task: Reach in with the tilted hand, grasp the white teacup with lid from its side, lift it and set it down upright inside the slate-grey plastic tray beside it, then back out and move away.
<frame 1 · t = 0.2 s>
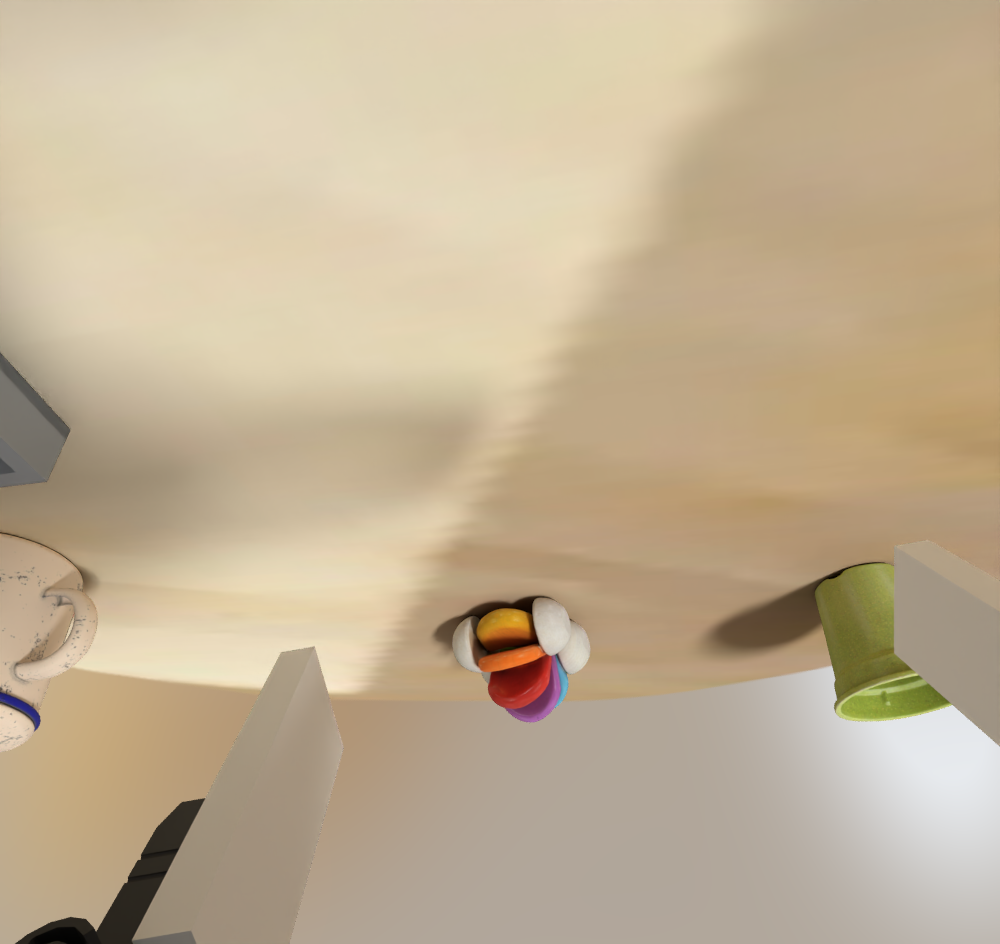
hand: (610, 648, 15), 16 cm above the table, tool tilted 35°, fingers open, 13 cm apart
rainbow segmented toy: (519, 617, 49), on the table
plant pot: (853, 580, 48), on the table
teacup with lid: (25, 560, 38), on the table
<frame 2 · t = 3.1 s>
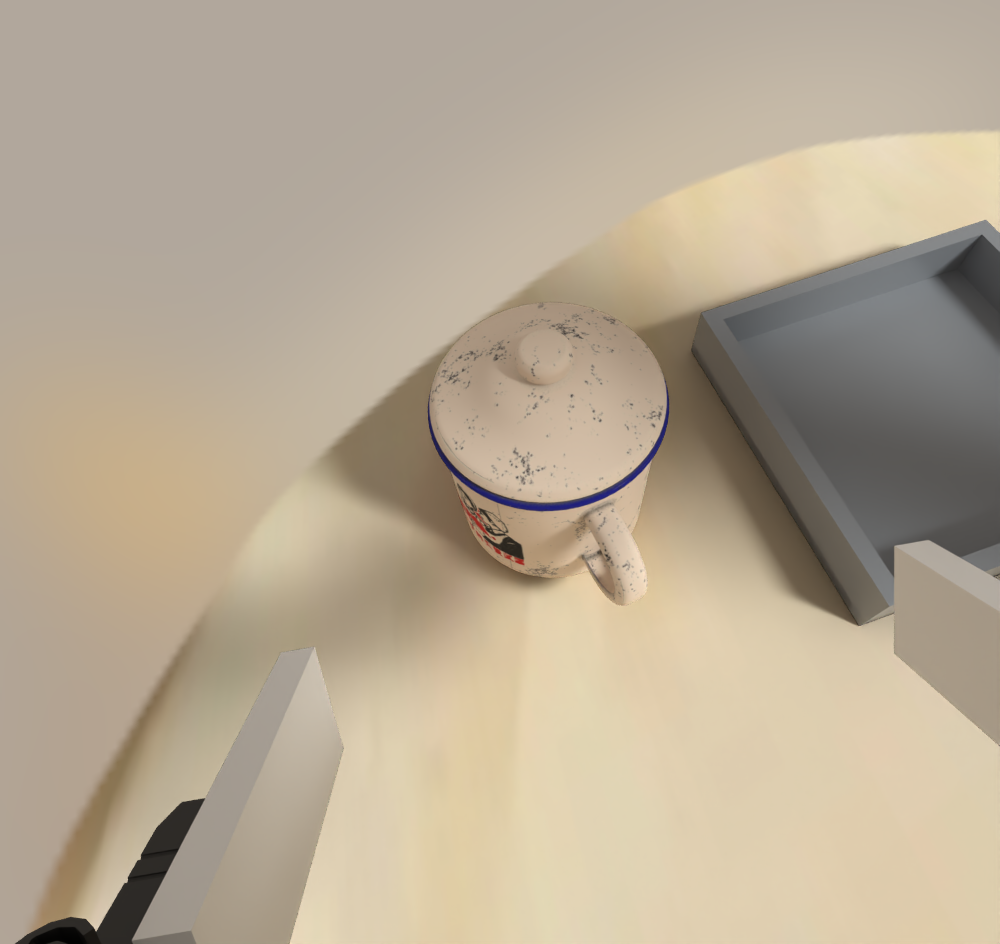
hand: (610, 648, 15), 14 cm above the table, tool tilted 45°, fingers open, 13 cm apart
tray: (913, 420, 32), on the table
teacup with lid: (564, 522, 32), on the table
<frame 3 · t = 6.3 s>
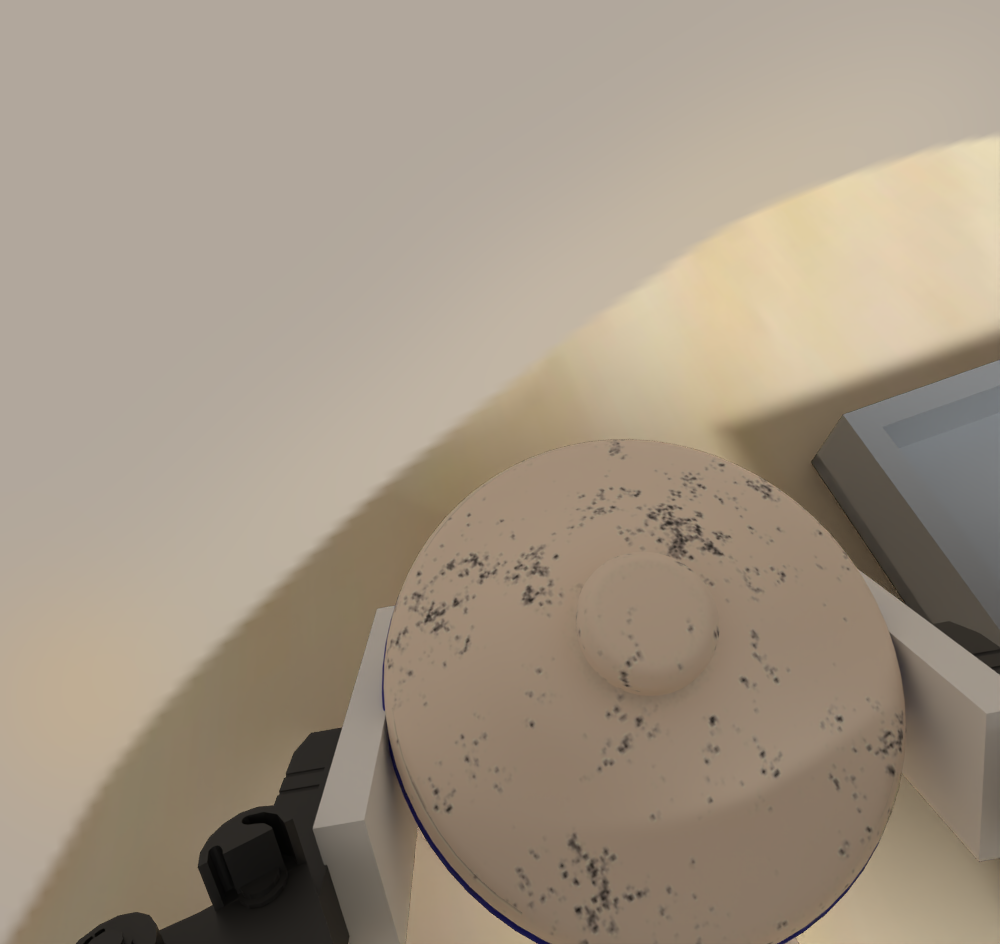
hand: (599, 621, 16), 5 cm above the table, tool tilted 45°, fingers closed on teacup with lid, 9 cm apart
teacup with lid: (628, 772, 19), on the table, touching gripper
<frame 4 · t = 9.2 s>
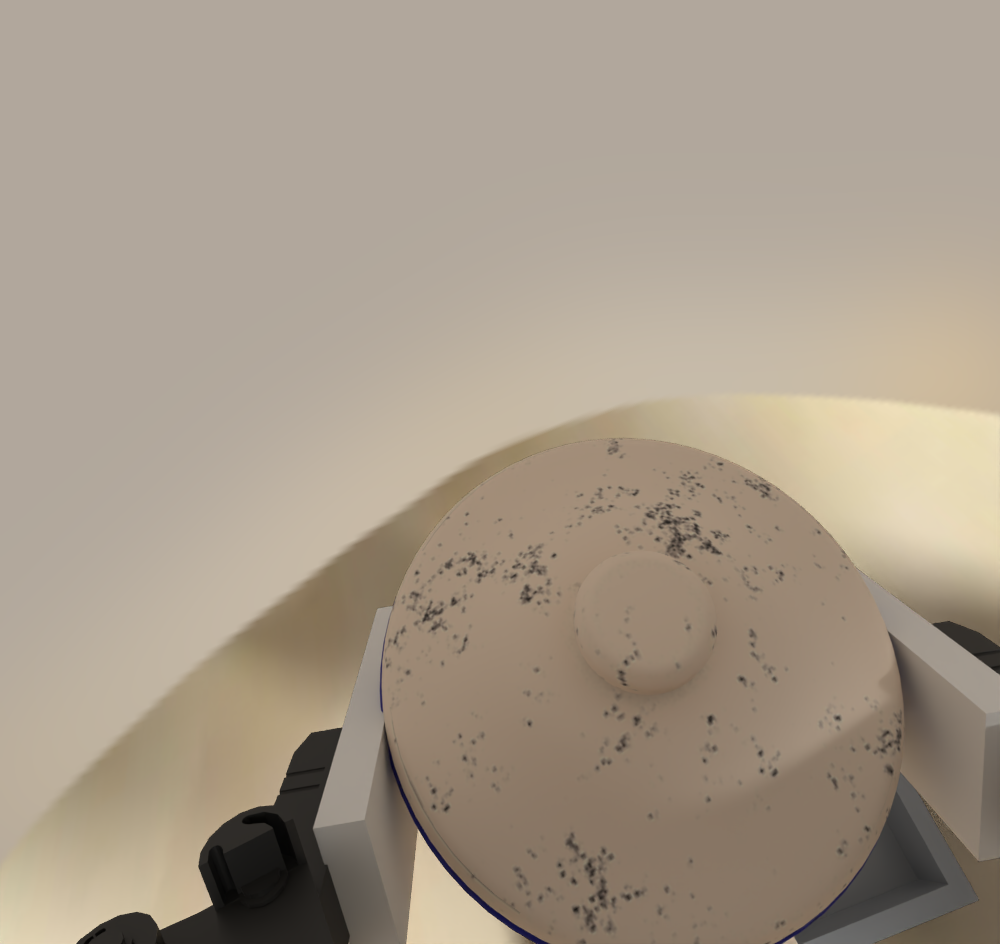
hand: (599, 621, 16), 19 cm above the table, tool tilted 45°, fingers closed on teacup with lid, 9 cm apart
tray: (687, 763, 31), on the table
teacup with lid: (627, 772, 19), point 14 cm above the table, touching gripper
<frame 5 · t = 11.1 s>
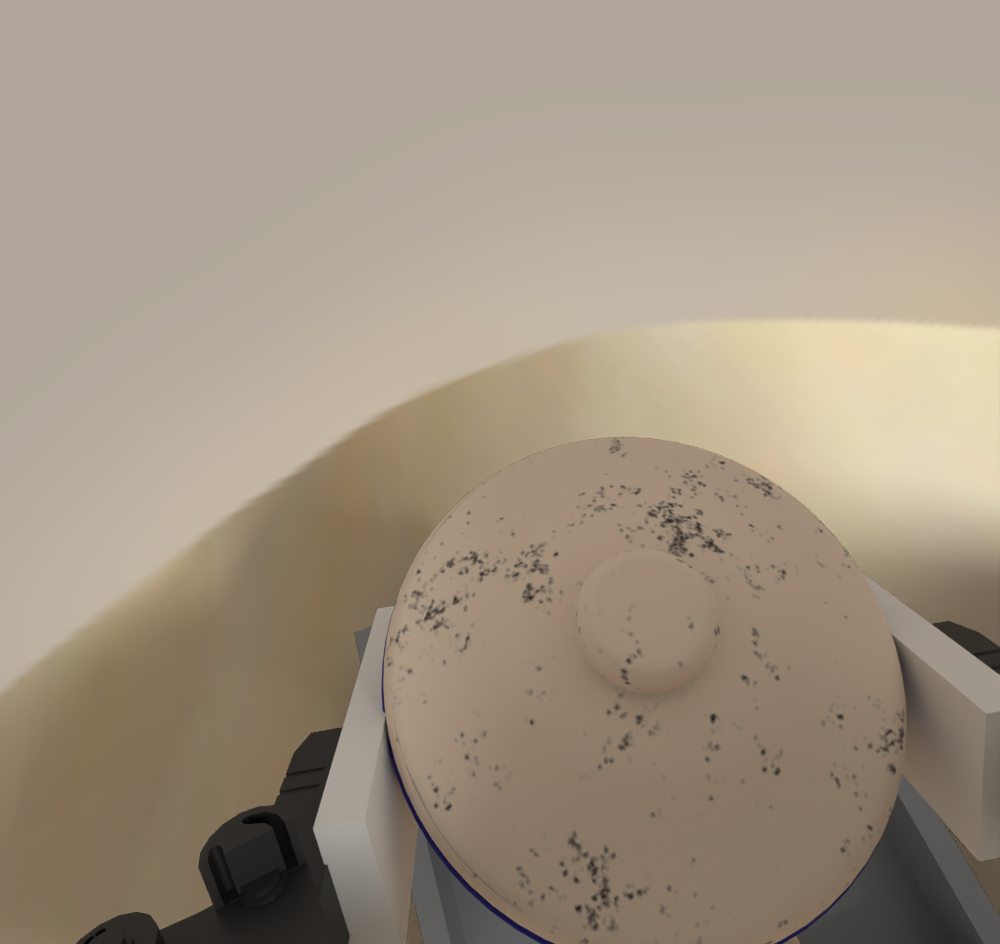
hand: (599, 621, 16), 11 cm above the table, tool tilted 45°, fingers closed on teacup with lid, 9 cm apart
tray: (635, 784, 24), on the table
teacup with lid: (628, 771, 19), point 6 cm above the table, touching gripper
when the fingers open (7 cm above the table, at t = 12.4 s): teacup with lid drops 1 cm, resting on tray.
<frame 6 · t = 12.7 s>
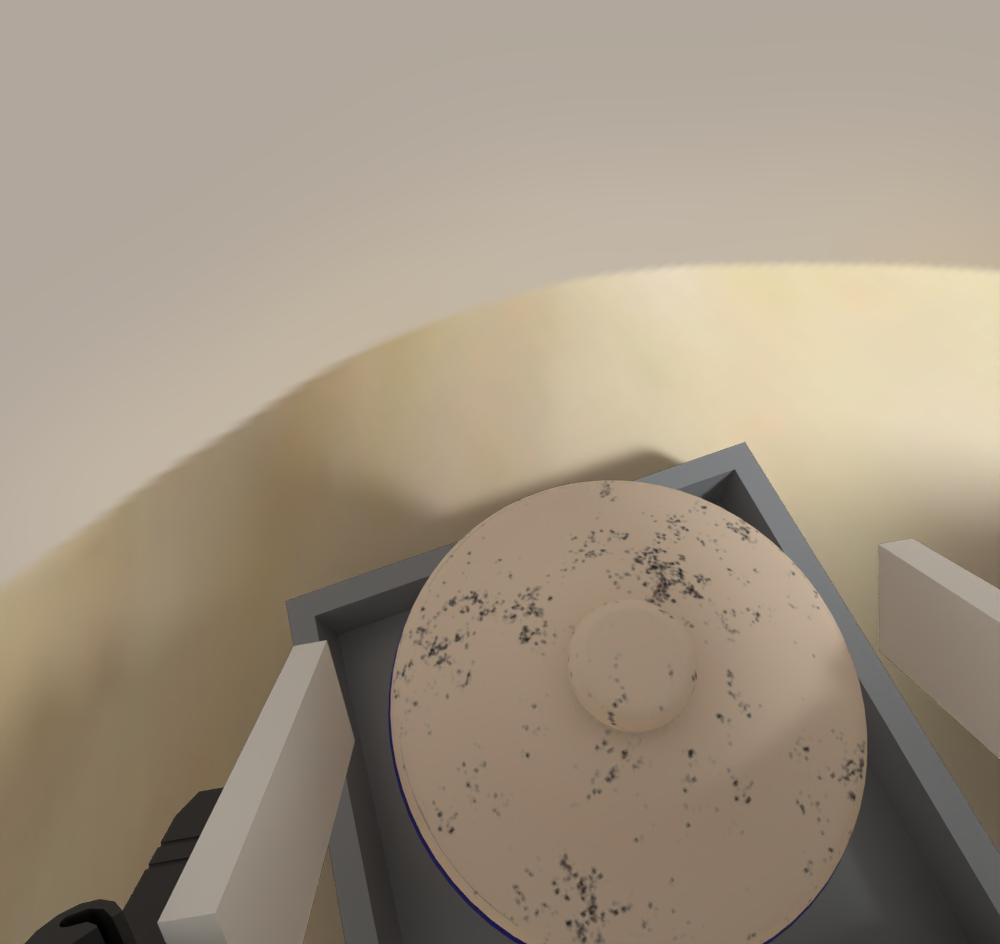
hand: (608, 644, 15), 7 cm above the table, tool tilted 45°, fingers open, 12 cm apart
tray: (613, 779, 20), on the table
teacup with lid: (617, 782, 20), resting on tray
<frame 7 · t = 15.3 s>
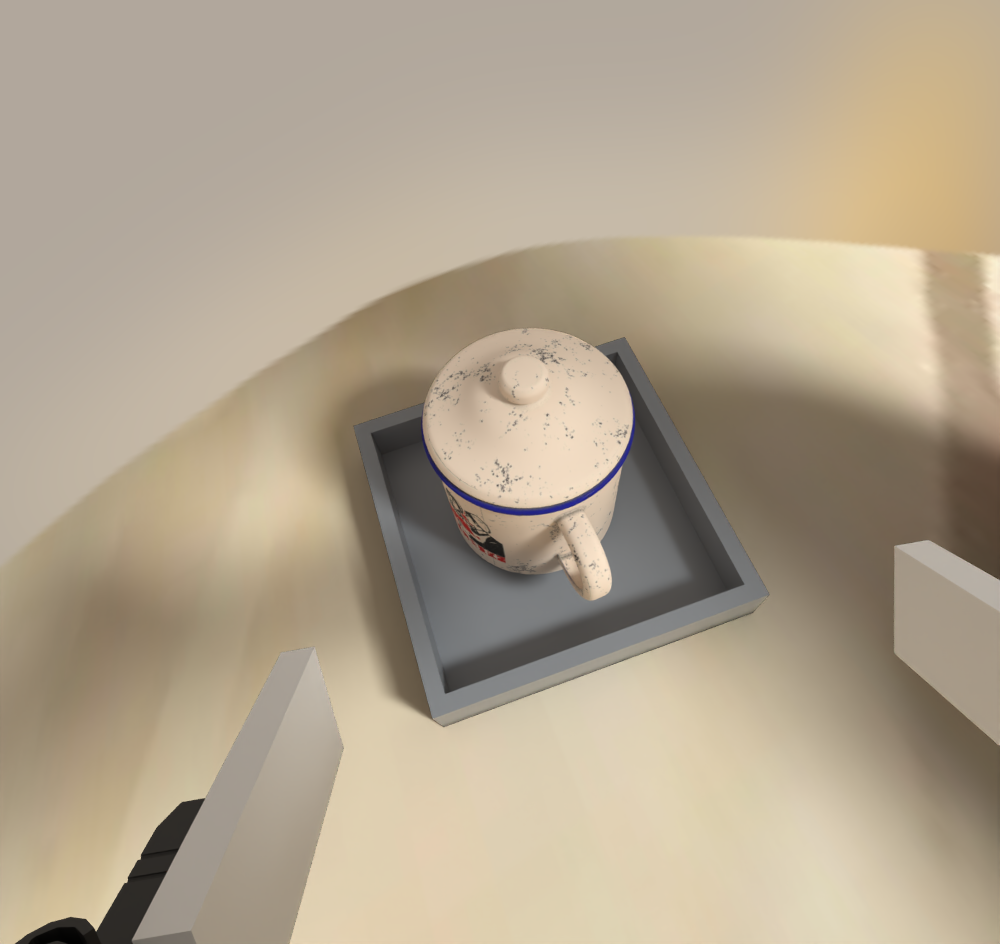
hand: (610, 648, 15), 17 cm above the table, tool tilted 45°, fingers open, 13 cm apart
tray: (543, 525, 35), on the table
teacup with lid: (544, 524, 35), resting on tray
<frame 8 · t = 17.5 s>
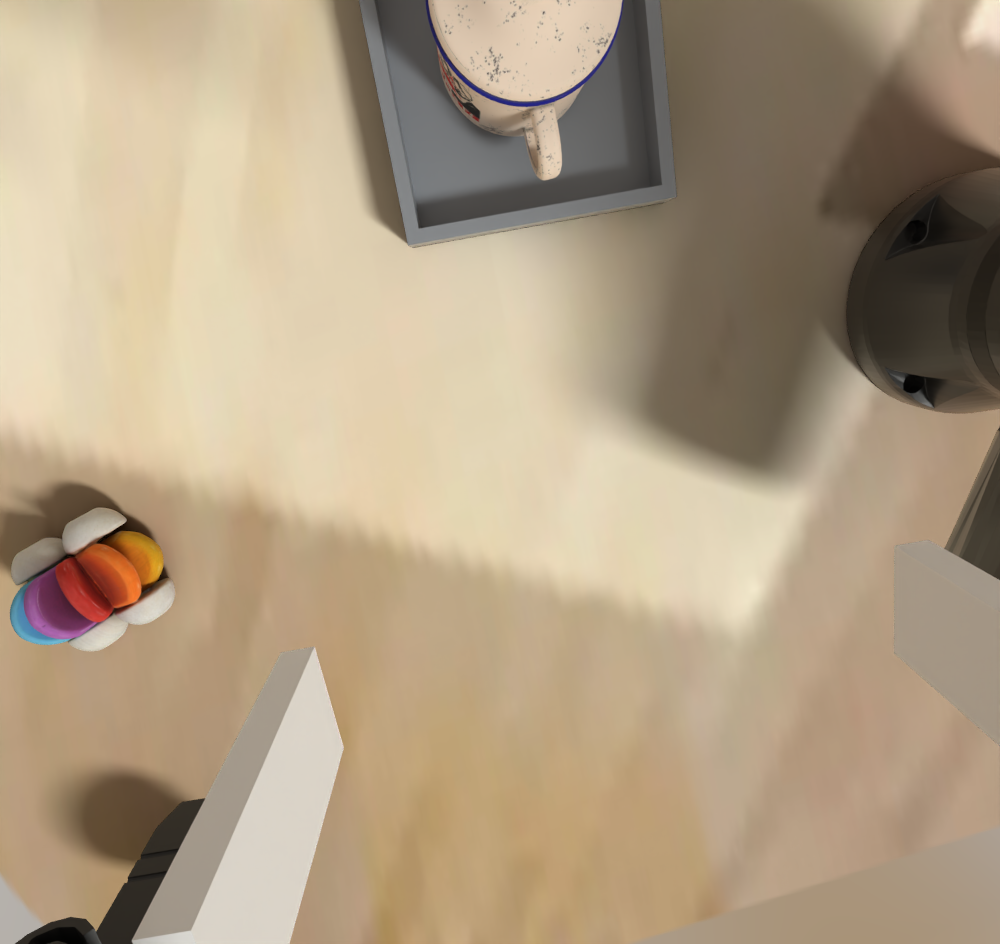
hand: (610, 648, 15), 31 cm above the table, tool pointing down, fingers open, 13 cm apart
tray: (516, 84, 39), on the table
rainbow segmented toy: (113, 566, 47), on the table
teacup with lid: (518, 84, 38), resting on tray
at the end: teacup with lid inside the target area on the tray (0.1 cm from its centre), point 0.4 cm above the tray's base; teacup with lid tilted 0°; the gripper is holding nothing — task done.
